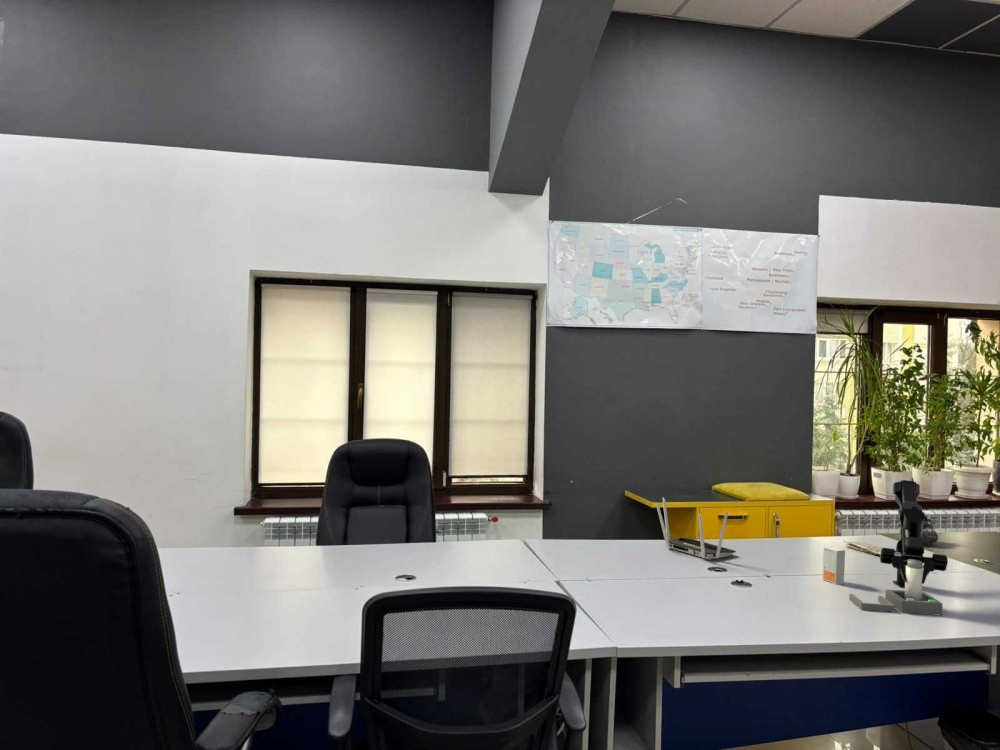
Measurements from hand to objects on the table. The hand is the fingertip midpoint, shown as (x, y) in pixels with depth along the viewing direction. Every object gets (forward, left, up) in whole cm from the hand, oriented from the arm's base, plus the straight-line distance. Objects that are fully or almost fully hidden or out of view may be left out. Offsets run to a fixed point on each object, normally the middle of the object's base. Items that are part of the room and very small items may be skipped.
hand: (914, 582), depth 229 cm
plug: (-1, 0, -7) cm, 7 cm away
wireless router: (-57, -59, -9) cm, 82 cm away
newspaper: (-71, +21, -9) cm, 75 cm away
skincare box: (-26, -16, -9) cm, 32 cm away
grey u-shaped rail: (0, -13, -8) cm, 15 cm away
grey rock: (-100, +45, -9) cm, 110 cm away
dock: (-1, 0, -8) cm, 9 cm away
